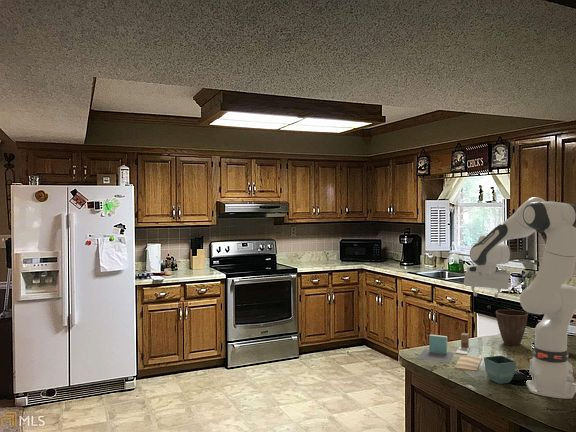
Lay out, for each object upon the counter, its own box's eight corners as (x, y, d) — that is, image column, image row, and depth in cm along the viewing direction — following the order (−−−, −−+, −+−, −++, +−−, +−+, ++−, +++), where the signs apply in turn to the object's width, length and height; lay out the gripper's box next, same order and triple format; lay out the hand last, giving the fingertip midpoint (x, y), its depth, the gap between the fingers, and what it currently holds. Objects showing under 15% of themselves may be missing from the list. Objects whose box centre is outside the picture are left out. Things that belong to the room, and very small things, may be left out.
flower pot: (497, 386, 192) (497, 363, 191) (483, 379, 200) (483, 357, 200) (516, 384, 194) (516, 361, 194) (501, 377, 202) (501, 355, 202)
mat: (448, 363, 220) (448, 362, 220) (417, 358, 227) (417, 357, 227) (454, 353, 235) (454, 352, 235) (424, 349, 241) (424, 349, 241)
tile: (446, 354, 232) (446, 337, 232) (429, 352, 236) (429, 335, 236) (447, 353, 234) (447, 336, 234) (430, 350, 238) (430, 334, 238)
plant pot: (490, 343, 252) (490, 312, 252) (504, 338, 262) (504, 308, 262) (519, 349, 241) (519, 317, 241) (533, 344, 251) (533, 312, 250)
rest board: (476, 372, 208) (476, 370, 208) (454, 368, 213) (454, 367, 213) (482, 359, 226) (482, 357, 226) (461, 356, 230) (461, 354, 230)
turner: (466, 355, 231) (466, 341, 231) (455, 354, 233) (455, 339, 233) (470, 347, 244) (470, 333, 244) (460, 346, 247) (460, 332, 247)
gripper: (510, 268, 236) (509, 297, 237) (464, 265, 245) (464, 293, 245) (510, 270, 230) (509, 300, 231) (463, 267, 239) (462, 295, 240)
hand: (485, 296), depth 238 cm, fingers open, 8 cm apart
